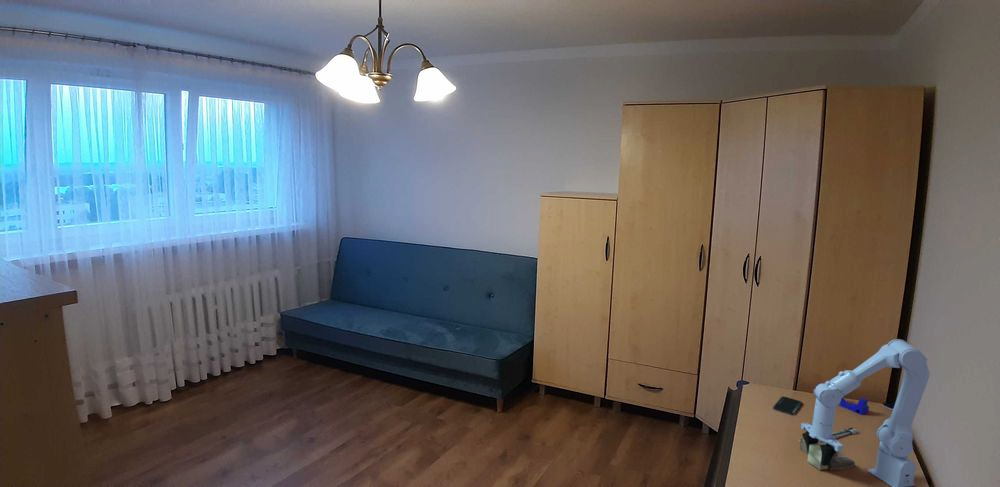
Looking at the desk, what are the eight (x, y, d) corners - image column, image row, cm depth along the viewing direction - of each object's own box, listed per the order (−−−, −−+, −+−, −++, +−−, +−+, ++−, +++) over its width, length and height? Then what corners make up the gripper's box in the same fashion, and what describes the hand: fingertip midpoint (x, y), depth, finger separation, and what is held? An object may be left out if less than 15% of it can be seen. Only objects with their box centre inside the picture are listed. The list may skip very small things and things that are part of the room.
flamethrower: (785, 437, 189) (812, 452, 180) (786, 430, 189) (813, 445, 180) (835, 423, 202) (862, 437, 193) (837, 417, 201) (864, 431, 192)
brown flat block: (853, 467, 171) (854, 461, 171) (831, 470, 169) (831, 464, 169) (821, 446, 184) (822, 440, 184) (799, 448, 182) (800, 442, 182)
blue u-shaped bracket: (867, 413, 211) (870, 399, 210) (861, 415, 209) (863, 401, 208) (837, 400, 221) (839, 387, 220) (831, 402, 219) (833, 389, 218)
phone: (803, 402, 217) (793, 414, 206) (802, 404, 217) (793, 416, 206) (782, 395, 222) (772, 407, 211) (781, 398, 222) (771, 410, 211)
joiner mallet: (841, 467, 171) (843, 450, 170) (819, 469, 169) (822, 452, 168) (828, 458, 176) (830, 441, 175) (807, 461, 174) (809, 444, 173)
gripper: (795, 411, 175) (790, 449, 177) (831, 433, 161) (826, 474, 163) (813, 409, 177) (808, 447, 179) (850, 431, 163) (844, 471, 165)
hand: (817, 460), depth 171 cm, fingers closed on joiner mallet, 5 cm apart
